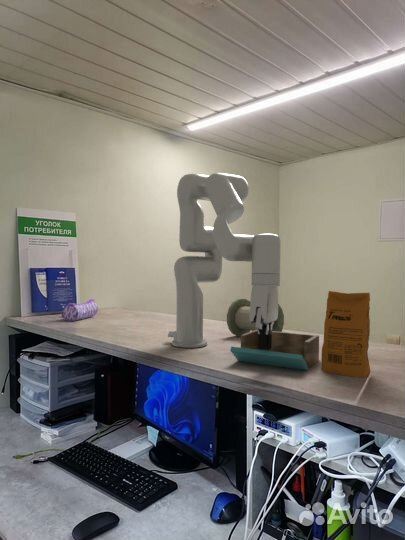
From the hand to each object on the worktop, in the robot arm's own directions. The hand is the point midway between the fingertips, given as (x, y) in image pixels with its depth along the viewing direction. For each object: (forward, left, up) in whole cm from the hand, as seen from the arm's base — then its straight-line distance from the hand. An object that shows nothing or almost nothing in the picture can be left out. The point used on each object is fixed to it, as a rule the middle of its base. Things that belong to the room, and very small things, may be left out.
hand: (264, 348), depth 108 cm
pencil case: (-118, +49, -7) cm, 128 cm away
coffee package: (+19, +10, -7) cm, 22 cm away
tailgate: (0, +6, -6) cm, 8 cm away
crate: (0, +13, -6) cm, 14 cm away
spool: (-21, +46, -7) cm, 51 cm away
